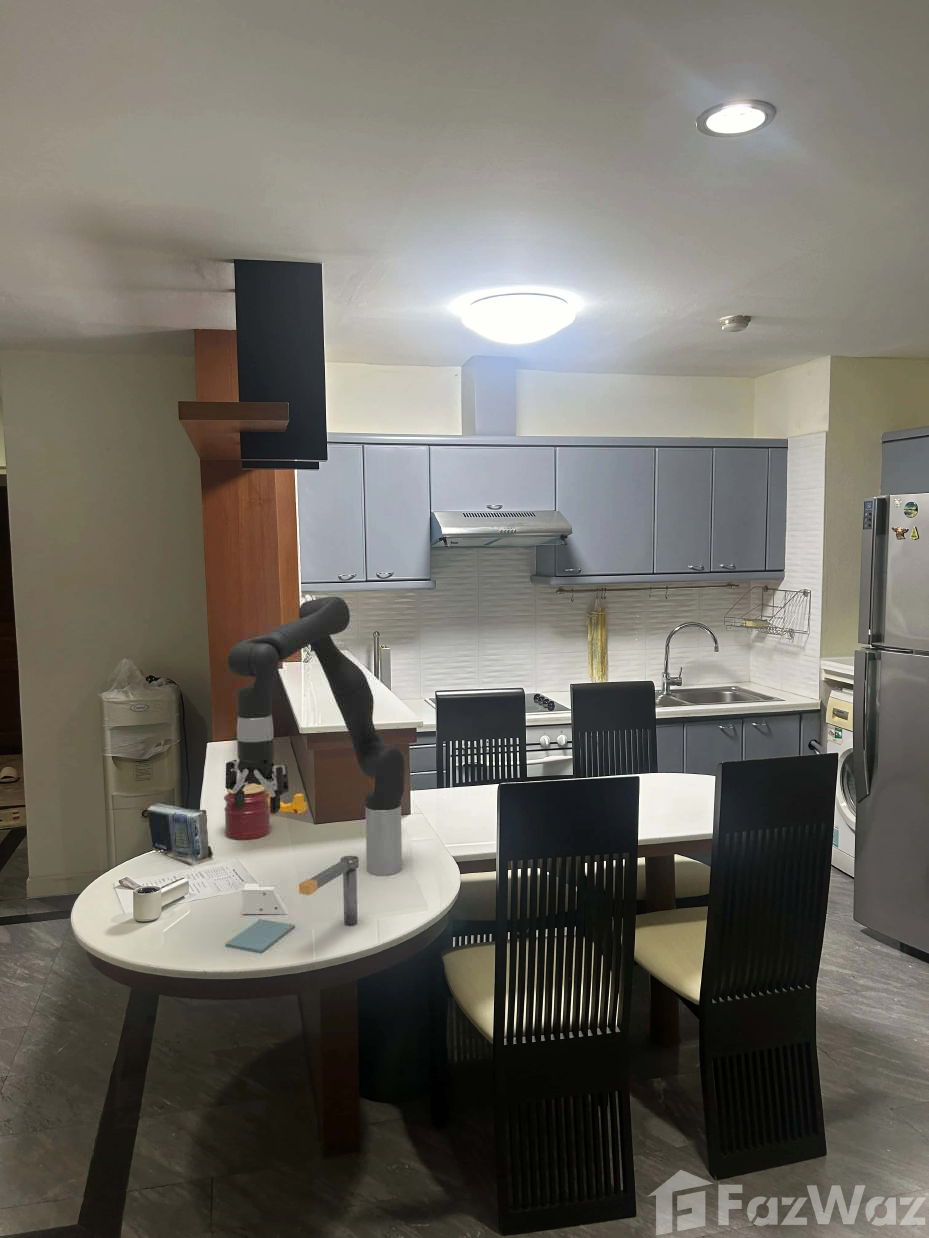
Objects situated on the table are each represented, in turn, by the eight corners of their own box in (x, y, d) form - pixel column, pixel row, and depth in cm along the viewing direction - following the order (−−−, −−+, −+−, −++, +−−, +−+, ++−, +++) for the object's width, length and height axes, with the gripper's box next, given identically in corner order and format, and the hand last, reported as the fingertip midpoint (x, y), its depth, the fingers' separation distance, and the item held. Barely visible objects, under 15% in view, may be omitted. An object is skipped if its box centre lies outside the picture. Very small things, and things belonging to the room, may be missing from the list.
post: (347, 919, 200) (346, 864, 199) (359, 921, 199) (358, 866, 198) (341, 924, 197) (340, 869, 196) (353, 926, 196) (352, 870, 195)
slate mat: (260, 922, 199) (260, 919, 199) (294, 928, 196) (294, 924, 196) (225, 947, 187) (225, 943, 187) (261, 953, 184) (261, 950, 183)
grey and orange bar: (347, 862, 200) (346, 854, 199) (362, 865, 198) (361, 856, 198) (296, 892, 183) (295, 883, 182) (312, 895, 181) (311, 886, 181)
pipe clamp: (306, 812, 282) (306, 792, 281) (299, 816, 278) (299, 796, 277) (275, 808, 286) (274, 788, 285) (267, 812, 282) (266, 792, 281)
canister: (277, 829, 264) (275, 771, 263) (260, 843, 252) (258, 783, 250) (236, 827, 267) (235, 769, 265) (217, 841, 254) (215, 781, 252)
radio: (145, 850, 247) (143, 799, 246) (173, 842, 253) (171, 793, 252) (185, 870, 231) (183, 816, 230) (214, 862, 237) (212, 809, 236)
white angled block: (253, 932, 203) (286, 914, 203) (231, 895, 202) (264, 877, 202) (256, 925, 206) (289, 907, 206) (235, 889, 205) (267, 871, 205)
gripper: (216, 737, 186) (218, 812, 188) (274, 742, 181) (276, 819, 183) (237, 730, 193) (239, 803, 195) (293, 735, 188) (295, 809, 190)
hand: (257, 810), depth 189 cm, fingers open, 8 cm apart
